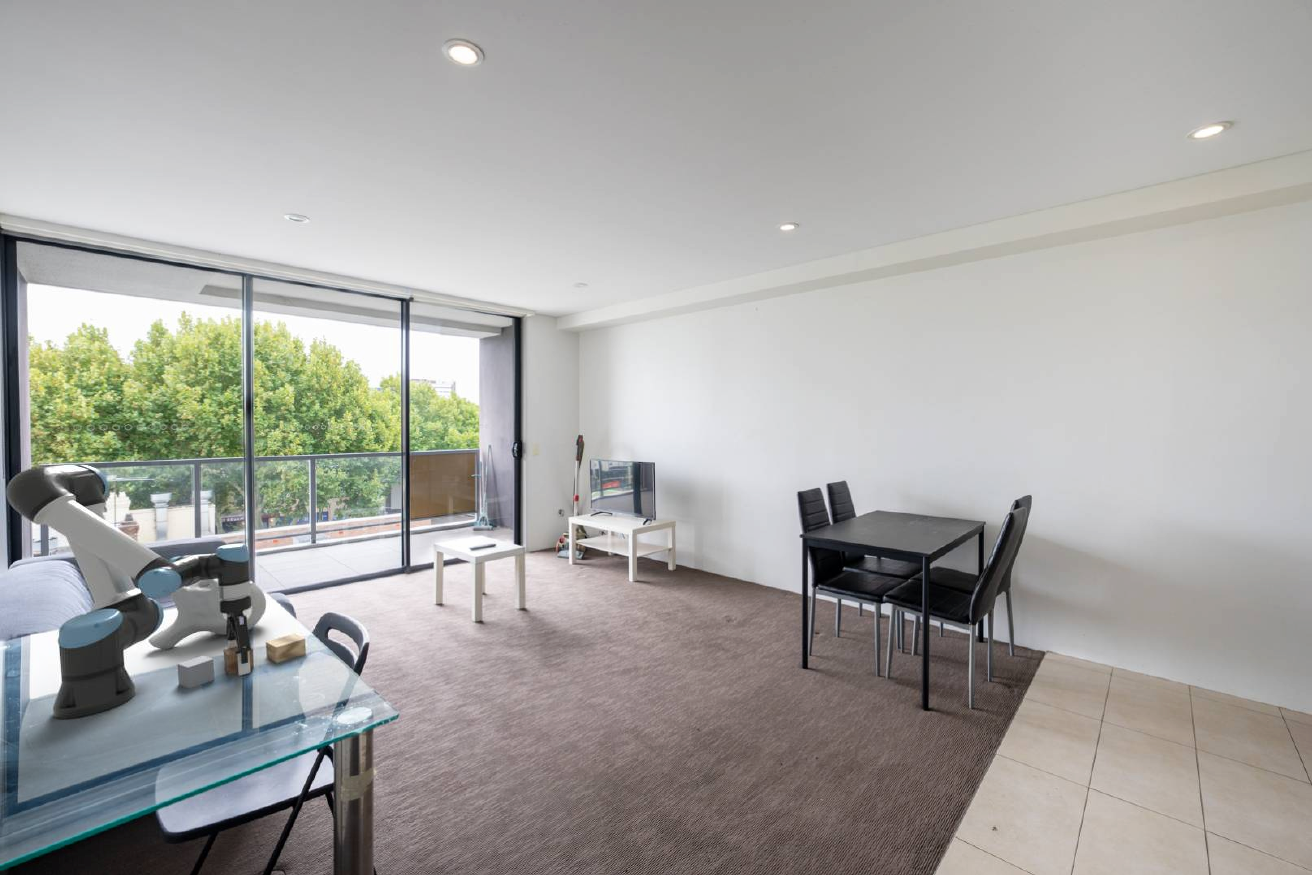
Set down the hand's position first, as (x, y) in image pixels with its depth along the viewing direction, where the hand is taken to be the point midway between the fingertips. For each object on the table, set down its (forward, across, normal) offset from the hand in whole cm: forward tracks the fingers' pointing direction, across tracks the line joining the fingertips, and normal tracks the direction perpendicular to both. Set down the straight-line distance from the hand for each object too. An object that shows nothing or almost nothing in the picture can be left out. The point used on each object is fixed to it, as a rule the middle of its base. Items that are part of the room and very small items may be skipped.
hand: (239, 667), depth 165 cm
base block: (+1, 0, -12) cm, 12 cm away
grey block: (0, -1, +10) cm, 10 cm away
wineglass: (0, +17, -3) cm, 17 cm away
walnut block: (0, 0, 0) cm, 1 cm away
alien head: (0, +40, +1) cm, 40 cm away
